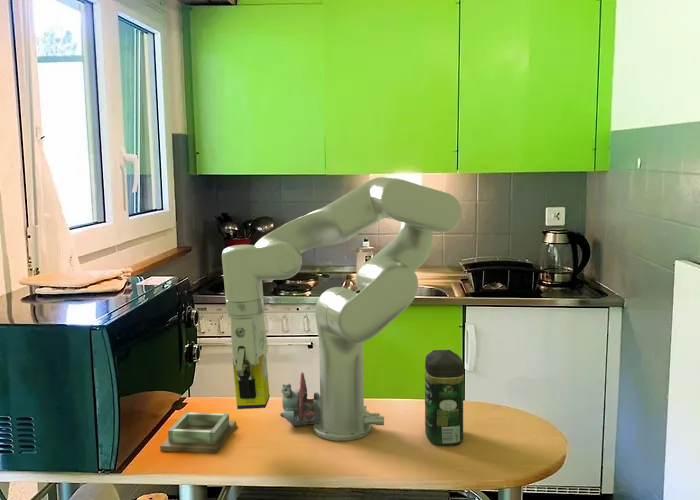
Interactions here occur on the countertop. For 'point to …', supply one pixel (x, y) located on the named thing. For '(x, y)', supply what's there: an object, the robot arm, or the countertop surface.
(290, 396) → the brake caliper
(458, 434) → the coffee jar
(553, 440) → the countertop surface
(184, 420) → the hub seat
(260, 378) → the supplement box
